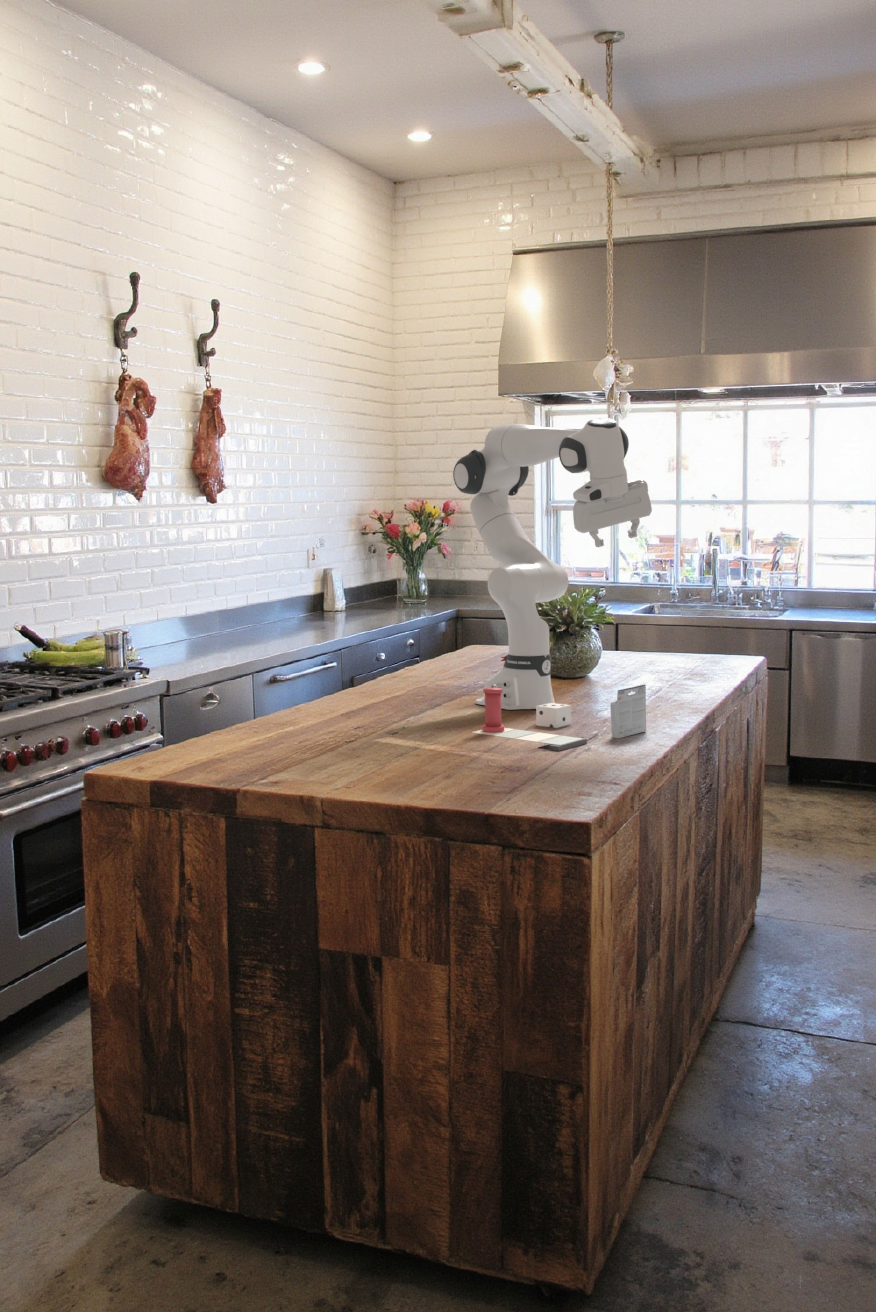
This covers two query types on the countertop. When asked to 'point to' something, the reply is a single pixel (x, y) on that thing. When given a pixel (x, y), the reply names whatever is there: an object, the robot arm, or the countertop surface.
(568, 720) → the die
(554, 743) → the game board
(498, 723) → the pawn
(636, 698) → the ink box
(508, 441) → the robot arm
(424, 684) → the countertop surface
